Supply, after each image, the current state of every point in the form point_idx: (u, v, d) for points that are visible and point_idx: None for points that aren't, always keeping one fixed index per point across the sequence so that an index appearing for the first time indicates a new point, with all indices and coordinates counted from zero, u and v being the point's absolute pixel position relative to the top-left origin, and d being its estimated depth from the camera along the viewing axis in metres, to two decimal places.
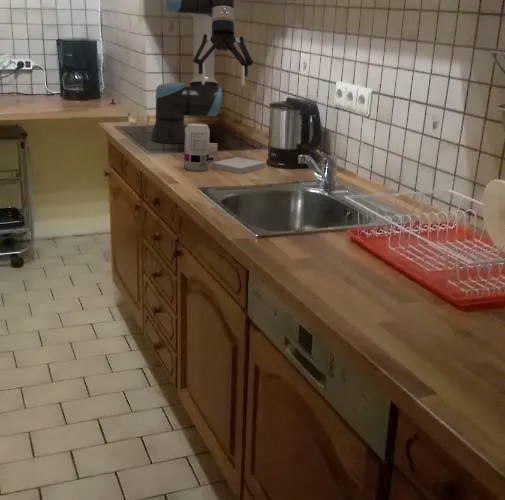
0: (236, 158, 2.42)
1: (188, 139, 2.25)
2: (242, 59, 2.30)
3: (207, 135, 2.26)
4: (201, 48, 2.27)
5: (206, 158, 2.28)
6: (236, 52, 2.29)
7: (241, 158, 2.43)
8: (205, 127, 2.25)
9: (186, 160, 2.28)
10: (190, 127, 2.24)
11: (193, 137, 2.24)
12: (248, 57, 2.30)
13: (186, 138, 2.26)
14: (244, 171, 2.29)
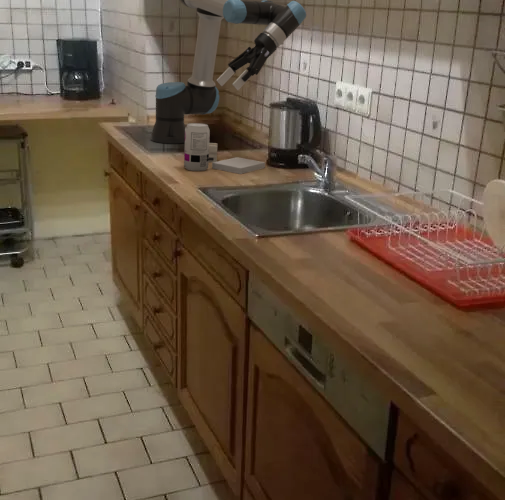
0: (236, 158, 2.42)
1: (188, 139, 2.25)
2: None
3: (207, 135, 2.26)
4: None
5: (206, 158, 2.28)
6: None
7: (241, 158, 2.43)
8: (205, 127, 2.25)
9: (186, 160, 2.28)
10: (190, 127, 2.24)
11: (193, 137, 2.24)
12: None
13: (186, 138, 2.26)
14: (244, 171, 2.29)
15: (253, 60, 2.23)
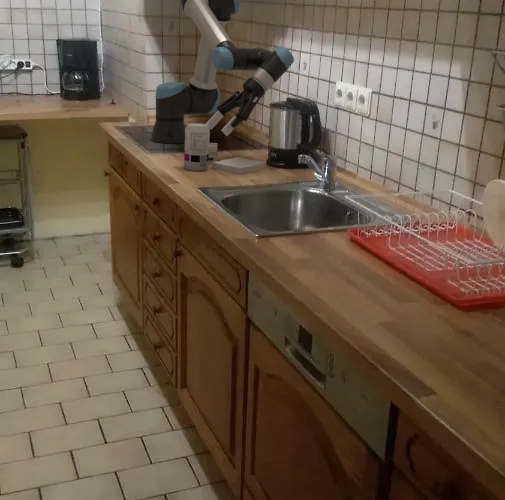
0: (236, 158, 2.42)
1: (188, 139, 2.25)
2: None
3: (207, 135, 2.26)
4: None
5: (206, 158, 2.28)
6: None
7: (241, 158, 2.43)
8: (205, 127, 2.25)
9: (186, 160, 2.28)
10: (190, 127, 2.24)
11: (193, 137, 2.24)
12: None
13: (186, 138, 2.26)
14: (244, 171, 2.29)
15: (242, 106, 2.25)
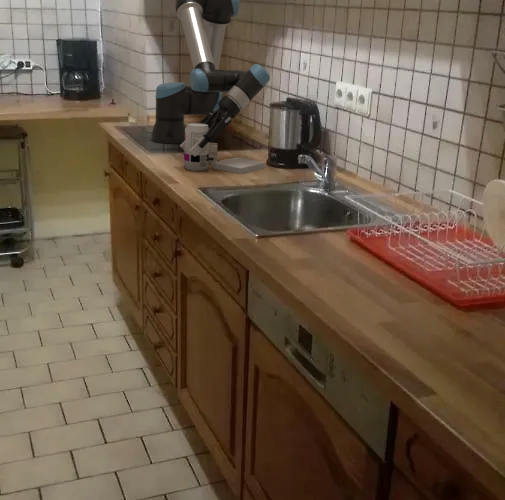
0: (236, 158, 2.42)
1: (188, 139, 2.25)
2: None
3: None
4: None
5: (206, 158, 2.28)
6: None
7: (241, 158, 2.43)
8: (205, 127, 2.25)
9: (186, 160, 2.28)
10: (190, 127, 2.24)
11: (193, 137, 2.24)
12: None
13: (186, 138, 2.26)
14: (244, 171, 2.29)
15: (212, 126, 2.25)
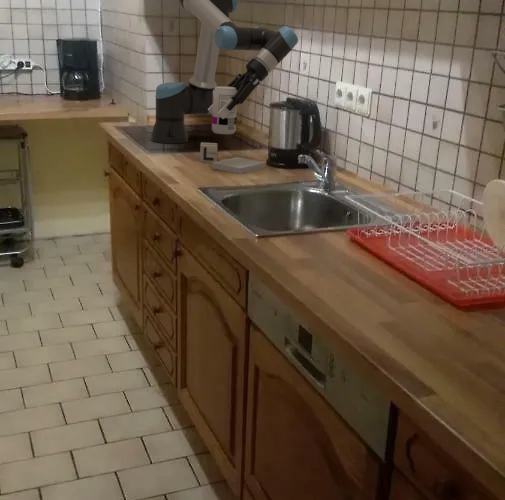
0: (236, 158, 2.42)
1: (216, 102, 2.24)
2: None
3: None
4: None
5: (234, 121, 2.27)
6: None
7: (241, 158, 2.43)
8: (233, 89, 2.23)
9: (214, 123, 2.27)
10: (218, 89, 2.23)
11: (221, 99, 2.23)
12: None
13: (214, 101, 2.25)
14: (244, 171, 2.29)
15: (241, 88, 2.23)
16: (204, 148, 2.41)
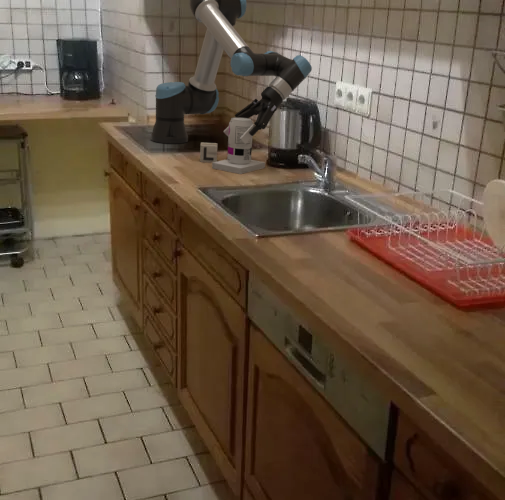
0: None
1: (233, 133, 2.30)
2: None
3: None
4: None
5: (249, 152, 2.33)
6: None
7: None
8: (249, 121, 2.29)
9: (230, 153, 2.33)
10: (235, 121, 2.29)
11: (237, 131, 2.29)
12: None
13: (230, 132, 2.30)
14: (244, 171, 2.29)
15: (260, 114, 2.28)
16: (204, 148, 2.41)
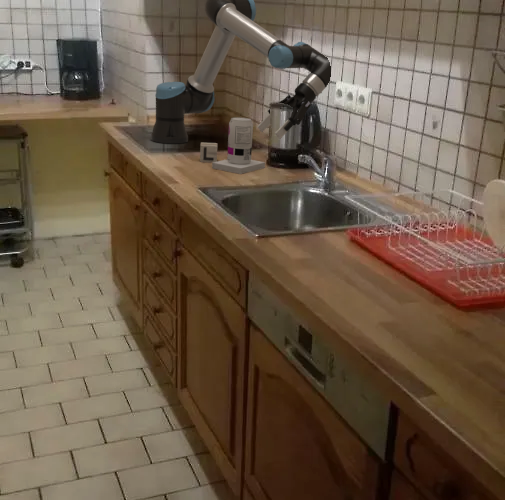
0: None
1: (232, 133, 2.30)
2: None
3: (251, 129, 2.30)
4: None
5: (249, 152, 2.33)
6: None
7: None
8: (249, 121, 2.29)
9: (230, 153, 2.33)
10: (234, 121, 2.29)
11: (237, 131, 2.29)
12: None
13: (230, 132, 2.30)
14: (244, 171, 2.29)
15: (294, 110, 2.33)
16: (204, 148, 2.41)
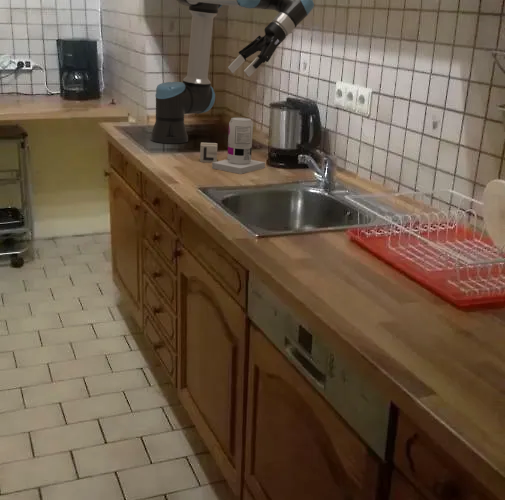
0: None
1: (232, 133, 2.30)
2: None
3: (251, 129, 2.30)
4: None
5: (249, 152, 2.33)
6: None
7: None
8: (249, 121, 2.29)
9: (230, 154, 2.33)
10: (234, 121, 2.29)
11: (237, 131, 2.29)
12: None
13: (230, 132, 2.30)
14: (244, 171, 2.29)
15: (264, 48, 2.33)
16: (204, 148, 2.41)
